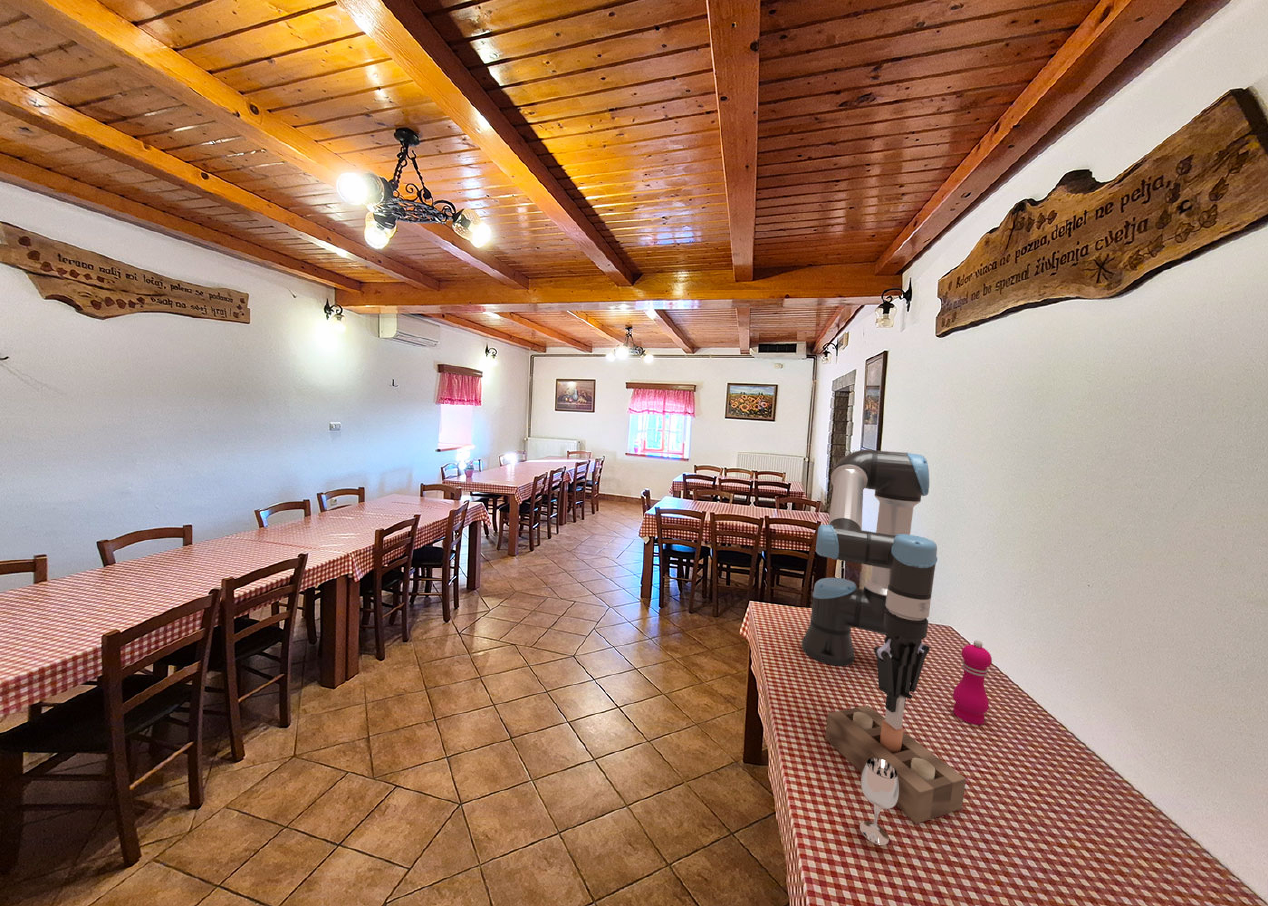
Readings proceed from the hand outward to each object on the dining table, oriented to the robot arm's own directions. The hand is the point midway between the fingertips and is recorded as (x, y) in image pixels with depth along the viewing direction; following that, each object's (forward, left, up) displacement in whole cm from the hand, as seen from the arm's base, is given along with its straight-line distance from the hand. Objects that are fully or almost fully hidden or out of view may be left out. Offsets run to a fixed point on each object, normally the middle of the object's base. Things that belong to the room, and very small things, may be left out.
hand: (892, 724), depth 91 cm
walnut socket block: (0, 0, -10) cm, 10 cm away
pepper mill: (-8, +37, -10) cm, 39 cm away
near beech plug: (+7, 0, -9) cm, 12 cm away
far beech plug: (-7, 0, -9) cm, 12 cm away
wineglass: (+10, -15, -10) cm, 21 cm away
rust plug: (0, 0, -6) cm, 6 cm away
